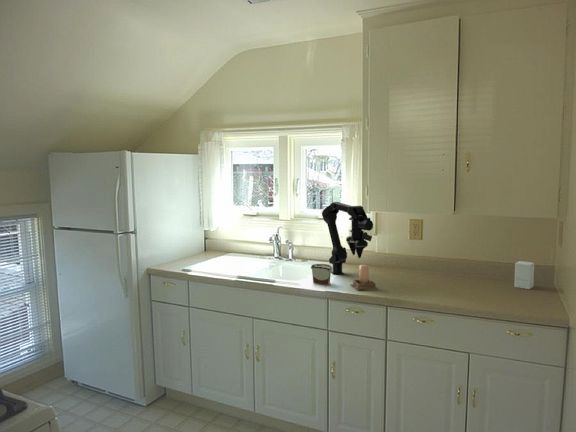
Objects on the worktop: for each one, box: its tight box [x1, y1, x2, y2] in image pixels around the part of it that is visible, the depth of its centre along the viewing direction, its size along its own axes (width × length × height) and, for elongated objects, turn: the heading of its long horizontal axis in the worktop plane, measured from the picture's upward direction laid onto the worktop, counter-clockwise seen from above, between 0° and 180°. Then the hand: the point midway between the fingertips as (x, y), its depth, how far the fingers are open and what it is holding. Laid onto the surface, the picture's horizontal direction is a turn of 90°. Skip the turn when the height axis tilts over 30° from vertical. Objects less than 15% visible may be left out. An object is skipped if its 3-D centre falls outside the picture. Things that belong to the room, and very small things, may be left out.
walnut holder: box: [350, 278, 379, 292], centre depth 228 cm, size 11×11×3 cm
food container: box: [310, 263, 333, 286], centre depth 237 cm, size 12×6×10 cm, turn 56°
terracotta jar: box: [358, 263, 370, 284], centre depth 227 cm, size 5×5×11 cm
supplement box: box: [513, 260, 535, 290], centre depth 225 cm, size 7×7×13 cm
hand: (356, 256), depth 243 cm, fingers open, 9 cm apart
